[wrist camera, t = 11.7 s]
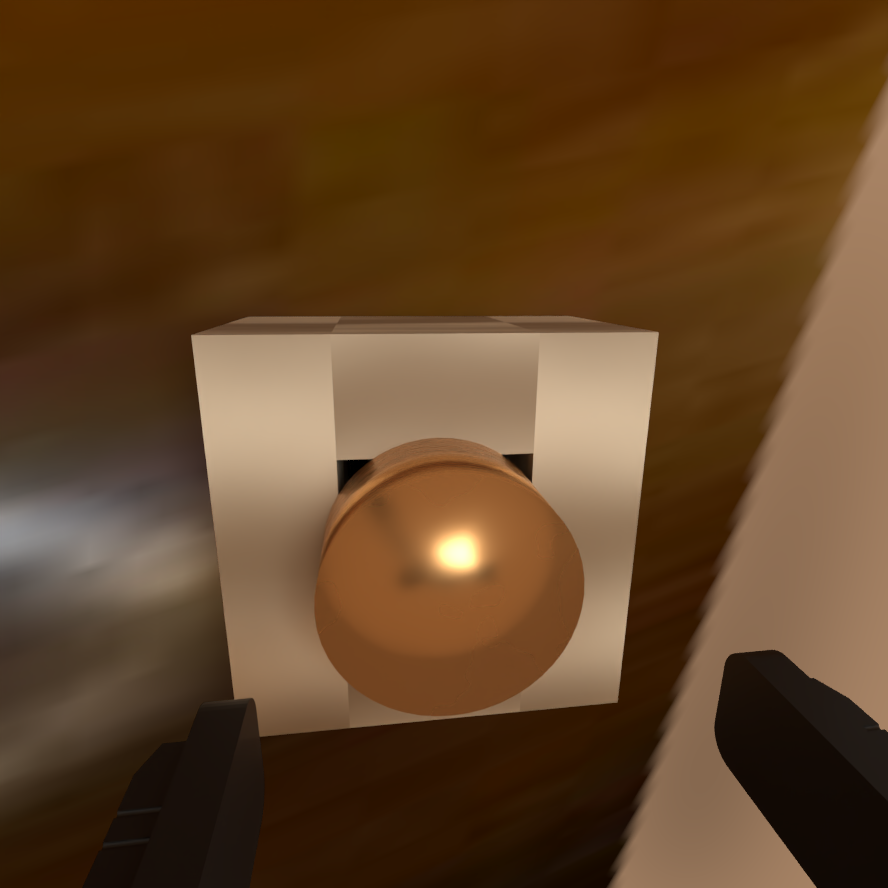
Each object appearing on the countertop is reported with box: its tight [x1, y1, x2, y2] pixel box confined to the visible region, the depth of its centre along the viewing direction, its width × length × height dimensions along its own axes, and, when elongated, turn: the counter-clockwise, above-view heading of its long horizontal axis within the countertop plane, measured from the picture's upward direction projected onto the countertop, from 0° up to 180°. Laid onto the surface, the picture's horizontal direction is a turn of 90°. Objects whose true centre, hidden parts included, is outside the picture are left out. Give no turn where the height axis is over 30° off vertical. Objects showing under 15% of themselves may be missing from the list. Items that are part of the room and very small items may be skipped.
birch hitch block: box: [191, 316, 659, 737], centre depth 19 cm, size 12×12×7 cm
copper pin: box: [314, 438, 585, 716], centre depth 18 cm, size 6×6×10 cm
